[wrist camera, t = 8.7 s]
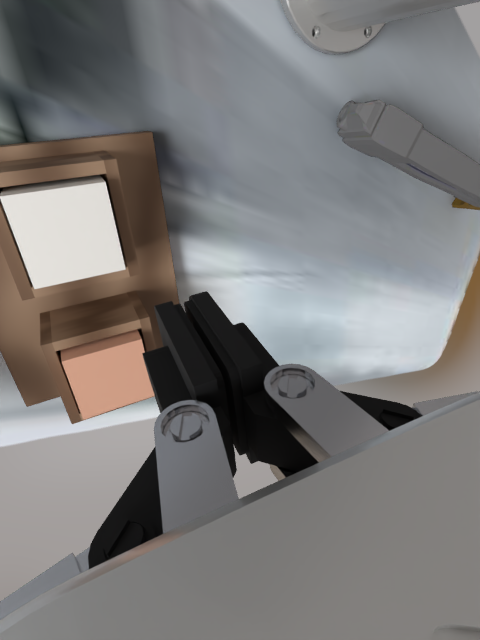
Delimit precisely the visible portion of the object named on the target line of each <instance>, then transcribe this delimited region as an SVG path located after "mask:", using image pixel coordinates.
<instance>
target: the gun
mask: <svg viewBox="0 0 480 640" xmlns="http://www.w3.org/2000/svg"><path fill="white" fill-rule="evenodd" d="M337 127H338V128H340V129H339V131H338V134H339V136H341V137H343V140H342V141H343V142H344V143H345V144H347V145H348V146H350V147H351V148H354V149H356V150H358V151H360V152H362V153H364V154H367V155H369V156H371V157H378V158H380V159H382V160H384V161H385V162H387V163H389V164H391V165H393V166H394V167H396V168H398V169H400V170H402V171H403V172H405V173H407V174H409V175H411V176H413V177H414V178H417V179H419V180H421V181H423V182H425V183H427V184H430V185H432V186H434V187H436V188H438V189H441V190H443V191H445V192H447V193H449V194H451V195H454V197H456V198H455V200H454V202H453V203H452V206H453V207H455V208H466V209H475V210H480V164H478V163H477V162H475V161H474V160H472V159H471V158H469V157H468V156H466V155H465V154H463V153H462V152H460V151H459V150H457V149H455V148H454V147H452V146H450V145H449V144H447V143H446V142H444V141H442V140H441V139H439V138H438V137H436V136H434V135H433V134H431V133H429V132H428V131H426V130H425V129H423V124H422V123H420V122H419V121H417V120H416V119H414V118H413V117H411V116H410V115H408V114H407V113H405V112H404V111H402V110H401V109H399V108H397V107H395V106H393V105H391V104H389V105H386V104H385V103H384V102H383V101H381V100H375V101H370V102H366V103H355V102H354V101H350V102H348V103H346V104H345V105H344V107H343V108H342V110H341V111H340V113H339V115H338V118H337Z"/></svg>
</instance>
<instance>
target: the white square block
mask: <svg viewBox="0 0 480 640" xmlns="http://www.w3.org/2000/svg"><path fill="white" fill-rule="evenodd" d="M0 199H1V202H2V205H3V207H4V210H5V213H6V215H7V218H8V221H9V223H10V226H11V229H12V231H13V234H14V237H15V239H16V242H17V245H18V247H19V250H20V253H21V255H22V258H23V261H24V263H25V266H26V269H27V271H28V274H29V277H30V279H31V282H32V284H33V287H34V289H38V288H43V287H48V286H52V285H57V284H61V283H66V282H71V281H75V280H80V279H84V278H89V277H94V276H98V275H103V274H107V273H112V272H117V271H121V270H126V269H125V264H124V260H123V256H122V251H121V247H120V242H119V238H118V234H117V229H116V225H115V221H114V216H113V212H112V208H111V203H110V199H109V195H108V190H107V186H106V182H105V181H104V180H103V178H102V177H101V176H100V175H91V176H84V177H76V178H68V179H61V180H53V181H46V182H38V183H30V184H23V185H15V186H7V187H3V188H2V191H1V194H0Z"/></svg>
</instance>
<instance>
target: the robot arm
mask: <svg viewBox="0 0 480 640" xmlns="http://www.w3.org/2000/svg"><path fill="white" fill-rule="evenodd" d="M479 1H480V0H280V2H281V4H282V7H283V9H284V12H285V15H286V17H287V19H288V21H289V22H290V24H291V26H292V27H293V29H294V31H295V32H296V33H297V34H298V36H299V37H300V38H301V39H302V40H303V41H304V42H305V43H306V44H308V45H309V46H310V47H312V48H313V49H315V50H318V51H320V52H323V53H327V54H341V53H348V52H351V51H354V50H357V49H359V48H360V47H362V46H364V45H365V44H367V43H368V42H369V41H370V40H371V39H372V38H374V37H375V36H376V35H377V34H378V32H379V31H380V30H381V28H382V27H383V26H384V24H385V23H386V22H390V21H394V20H399V19H403V18H408V17H412V16H417V15H421V14H426V13H430V12H435V11H439V10H444V9H448V8H452V7H457V6H461V5H466V4H470V3H474V2H479ZM184 306H185V311H186V313H185V311H184V310H183V308H182V306H181V305H180V304H176V305H174V304H173V302H172V301H170V302H166V303H162V304H159V305H155V306H154V310H155V314H156V318H157V322H158V326H159V330H160V334H161V338H162V343H163V347H161V348H158V349H155V350H151V351H148V352H145V353H142V354H143V358H144V362H145V365H146V369H147V372H148V376H149V379H150V382H151V386H152V389H153V392H154V395H155V398H156V401H157V404H158V407H159V410H160V413H161V414H160V415H159V416H158V418H157V420H156V422H155V427H154V434H155V448H154V449H153V451H152V452H151V454H150V455H149V457H148V458H147V460H146V461H145V463H144V464H143V465H142V467H141V468H140V470H139V472H138V473H137V474H136V476H135V477H134V479H133V480H132V482H131V483H130V485H129V486H128V487H127V489H126V491H125V492H124V493H123V495H122V497H121V498H120V499H119V501H118V502H117V504H116V505H115V507H114V508H113V510H112V511H111V512H110V514H109V515H108V517H107V518H106V520H105V521H104V523H103V524H102V526H101V527H100V529H99V530H98V531H97V533H96V535H95V537H94V539H93V541H92V543H91V545H90V547H89V548H87V549H86V550H85V551H83V552H82V553H80V554H79V555H77V556H76V557H75V555H74V554H73V553H71V554H70V555H68V556H67V557H65V558H64V559H62V560H61V561H59V562H58V563H56V564H55V565H54V566H52V567H50V568H49V569H48V570H46V571H45V572H43V573H42V574H40V575H39V576H37V577H36V578H34V579H33V580H31V581H30V582H28V583H27V584H25V585H24V586H22V587H21V588H19V589H18V590H16V591H15V592H13V593H12V594H10V595H9V596H8V597H6V598H4V599H3V600H2V601H0V640H480V392H471V393H466V394H461V395H455V396H450V397H444V398H439V399H434V400H428V401H423V402H418V403H414V404H413V408H411V407H409V406H407V405H403V404H400V403H397V402H392V401H387V400H381V399H377V398H371V397H367V396H362V395H357V394H352V393H347V392H342V391H339V390H338V389H336V388H335V387H334V386H333V385H331V384H330V383H329V382H328V381H326V380H325V379H324V378H323V377H321V376H320V375H319V374H318V373H316V372H315V371H314V370H312V369H310V368H308V367H306V366H303V365H299V364H286V365H281V366H279V365H278V364H277V362H276V361H275V360H274V359H273V358H272V356H271V355H270V354H269V353H268V352H267V350H266V349H265V348H264V347H263V345H262V344H261V343H260V342H259V341H258V339H257V338H256V337H255V336H254V335H253V333H252V332H251V331H250V330H249V328H248V327H247V326H246V325H245V324H244V323H239V324H235V325H233V324H232V323H231V322H230V321H229V319H228V318H227V317H226V315H225V314H224V313H223V311H222V310H221V309H220V308H219V306H218V305H217V304H216V302H215V301H214V300H213V298H212V297H211V296H210V295H209V293H208V292H207V291H206V292H202V293H199V294H195V295H191V296H190V297H189V301H187V302H184ZM233 444H234V445H233ZM234 446H235V448H236V450H237V452H238V453H239V455H243V454H245V453H246V455H247V457H248V459H249V460H250V463H251V464H252V463H254V462H257V461H261V462H264V463H268V464H270V469H271V471H272V472H273V474H274V475H275V477H276V478H277V479H278V482H276V483H274V484H271V485H269V486H267V487H265V488H263V489H260V490H258V491H256V492H254V493H251V494H249V495H247V496H245V497H243V498H241V499H239V498H238V495H237V491H236V488H235V484H234V480H233V477H234V475H235V473H236V470H237V469H236V462H235V452H234Z"/></svg>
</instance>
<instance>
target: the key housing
mask: <svg viewBox="0 0 480 640" xmlns="http://www.w3.org/2000/svg"><path fill="white" fill-rule="evenodd" d="M91 175H100V176H101V177H102V178H103V180H104V181H105V182H106V186H107V190H108V195H109V199H110V203H111V208H112V212H113V216H114V221H115V225H116V229H117V234H118V238H119V242H120V247H121V251H122V256H123V260H124V264H125V269H126V270H121V271H117V272H112V273H107V274H103V275H98V276H94V277H89V278H84V279H80V280H75V281H71V282H66V283H61V284H57V285H52V286H48V287H43V288H38V289H34V287H33V284H32V282H31V279H30V277H29V274H28V271H27V269H26V266H25V263H24V261H23V258H22V255H21V253H20V250H19V247H18V245H17V242H16V239H15V237H14V234H13V231H12V229H11V226H10V223H9V221H8V218H7V215H6V213H5V210H4V207H3V205H2V202H1V199H0V351H1V353H2V355H3V358H4V360H5V362H6V364H7V366H8V368H9V370H10V372H11V374H12V377H13V379H14V381H15V383H16V385H17V387H18V389H19V391H20V393H21V396H22V398H23V400H24V402H25V404H26V406H27V407H28V406H31V405H34V404H38V403H41V402H44V401H47V400H50V399H54V398H57V397H60V396H61V398H62V401H63V403H64V406H65V408H66V411H67V413H68V416H69V418H70V421H71V423H72V424H74V423H77V422H80V421H83V417H82V415H81V412H80V409H79V407H78V404H77V401H76V399H75V396H74V394H73V391H72V388H71V386H70V383H69V380H68V378H67V375H66V372H65V370H64V367H63V364H62V361H61V352H60V350H62V349H66V348H70V347H73V346H77V345H81V344H84V343H88V342H92V341H95V340H99V339H103V338H106V337H110V336H114V335H117V334H121V333H125V332H128V331H132V330H136V329H137V330H138V332H139V334H140V336H141V339H142V343H143V347H144V351H145V352H148V351H151V350H155V349H158V348H161V347H163V343H162V338H161V334H160V330H159V326H158V322H157V318H156V314H155V310H154V306H155V305H159V304H162V303H166V302H170V301H172V302H173V304H174V305H176V304H179V299H178V292H177V286H176V280H175V273H174V267H173V261H172V254H171V248H170V242H169V235H168V229H167V223H166V216H165V210H164V204H163V197H162V191H161V185H160V178H159V172H158V166H157V159H156V153H155V147H154V140H153V134H152V132H149V131H143V132H133V133H123V134H113V135H102V136H92V137H82V138H72V139H62V140H51V141H41V142H31V143H21V144H10V145H0V194H1V191H2V188H3V187H7V186H15V185H23V184H30V183H38V182H46V181H53V180H61V179H68V178H76V177H84V176H91ZM152 397H154V396H152ZM149 398H151V397H149ZM146 399H148V398H146ZM143 400H145V399H143ZM140 401H142V400H140ZM137 402H139V401H137ZM134 403H136V402H134ZM131 404H133V403H131ZM128 405H130V404H128ZM125 406H127V405H125ZM122 407H124V406H122ZM122 407H119V408H122ZM119 408H116V409H119ZM116 409H113V410H116ZM113 410H110V411H113ZM110 411H107V412H110ZM107 412H104V413H107ZM104 413H101V414H104ZM101 414H98V415H101ZM98 415H95V416H98ZM95 416H93V417H95ZM90 418H92V417H90ZM87 419H89V418H87ZM84 420H86V419H84Z"/></svg>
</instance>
